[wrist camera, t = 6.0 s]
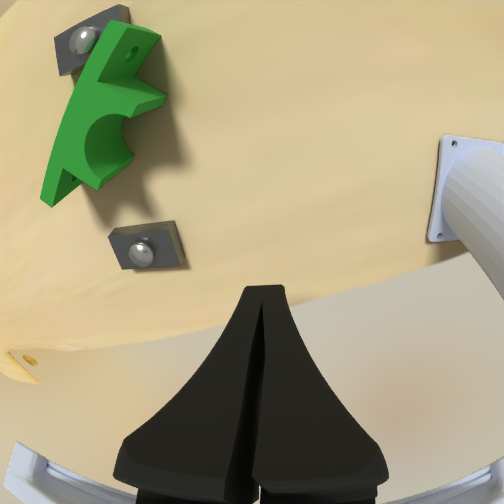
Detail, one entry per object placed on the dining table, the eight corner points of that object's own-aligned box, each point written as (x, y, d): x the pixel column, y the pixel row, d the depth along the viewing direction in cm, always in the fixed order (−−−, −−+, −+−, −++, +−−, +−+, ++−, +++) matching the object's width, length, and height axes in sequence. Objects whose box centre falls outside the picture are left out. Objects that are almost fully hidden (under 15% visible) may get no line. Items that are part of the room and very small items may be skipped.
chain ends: (127, 7, 11) (113, 2, 9) (184, 255, 21) (178, 271, 19) (64, 37, 11) (48, 37, 10) (128, 260, 21) (119, 274, 20)
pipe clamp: (115, 196, 19) (83, 230, 15) (77, 171, 17) (39, 199, 14) (197, 53, 13) (171, 48, 9) (147, 27, 12) (108, 19, 8)
